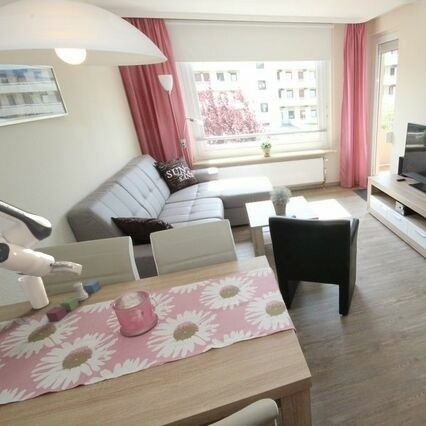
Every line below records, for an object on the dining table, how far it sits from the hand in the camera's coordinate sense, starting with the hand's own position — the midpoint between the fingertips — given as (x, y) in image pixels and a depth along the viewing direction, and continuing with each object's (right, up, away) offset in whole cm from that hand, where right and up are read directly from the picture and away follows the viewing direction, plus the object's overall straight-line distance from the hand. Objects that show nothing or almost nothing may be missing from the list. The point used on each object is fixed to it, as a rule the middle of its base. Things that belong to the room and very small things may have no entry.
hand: (68, 273), depth 126 cm
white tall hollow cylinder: (-14, -15, +3) cm, 21 cm away
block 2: (+1, -15, 0) cm, 15 cm away
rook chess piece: (+1, -13, +6) cm, 14 cm away
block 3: (+1, -11, +12) cm, 16 cm away
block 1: (+1, -17, -6) cm, 18 cm away
